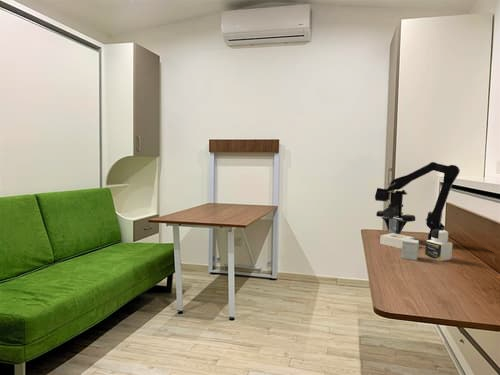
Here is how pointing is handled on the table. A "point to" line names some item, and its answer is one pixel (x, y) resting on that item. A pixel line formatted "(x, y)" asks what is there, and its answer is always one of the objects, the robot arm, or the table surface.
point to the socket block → (393, 239)
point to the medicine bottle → (438, 246)
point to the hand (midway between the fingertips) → (394, 232)
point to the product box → (410, 249)
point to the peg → (393, 226)
